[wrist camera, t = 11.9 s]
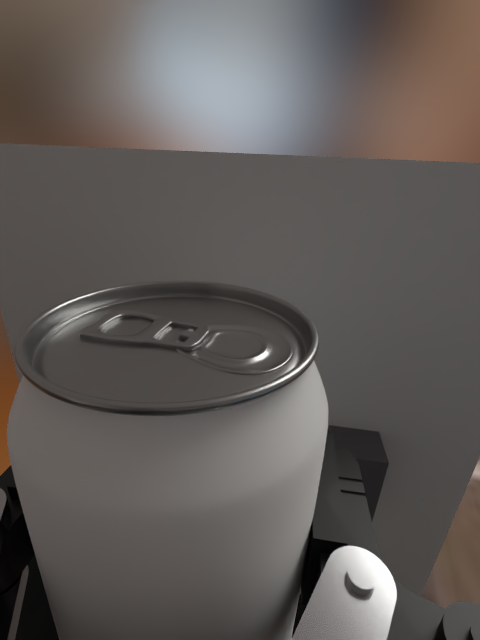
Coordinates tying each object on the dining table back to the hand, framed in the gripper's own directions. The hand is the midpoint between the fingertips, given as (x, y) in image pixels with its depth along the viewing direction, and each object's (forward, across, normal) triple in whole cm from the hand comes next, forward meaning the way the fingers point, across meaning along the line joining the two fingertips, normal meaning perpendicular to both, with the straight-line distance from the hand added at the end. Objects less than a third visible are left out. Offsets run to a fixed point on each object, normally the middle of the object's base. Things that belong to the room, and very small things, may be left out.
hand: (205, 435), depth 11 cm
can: (-2, 0, +7) cm, 8 cm away
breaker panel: (+9, 0, +18) cm, 20 cm away
